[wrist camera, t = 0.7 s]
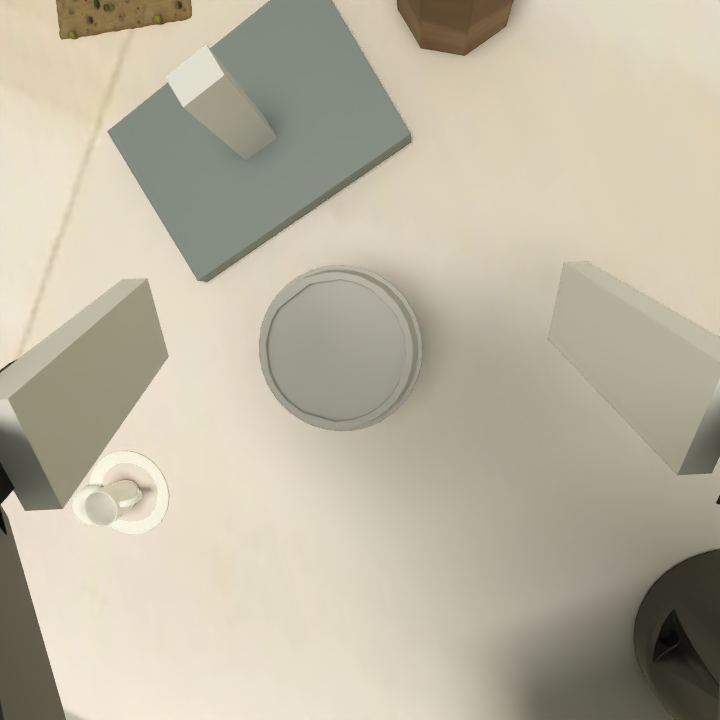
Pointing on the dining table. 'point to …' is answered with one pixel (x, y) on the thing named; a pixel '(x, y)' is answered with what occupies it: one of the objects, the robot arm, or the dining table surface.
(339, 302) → the disposable coffee cup
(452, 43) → the brown octagonal ring
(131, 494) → the teacup and saucer
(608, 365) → the robot arm
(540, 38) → the dining table surface
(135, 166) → the shaft board
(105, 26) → the speckled square slab
